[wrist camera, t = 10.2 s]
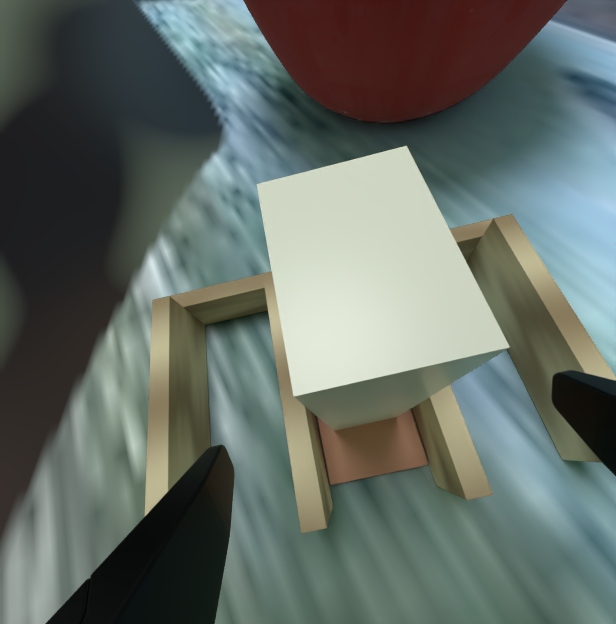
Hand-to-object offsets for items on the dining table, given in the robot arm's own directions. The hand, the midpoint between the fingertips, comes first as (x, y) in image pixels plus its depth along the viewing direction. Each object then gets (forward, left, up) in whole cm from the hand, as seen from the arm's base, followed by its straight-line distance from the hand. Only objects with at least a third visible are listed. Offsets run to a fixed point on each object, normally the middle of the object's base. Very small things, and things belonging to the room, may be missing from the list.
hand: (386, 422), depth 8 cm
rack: (+2, -2, -9) cm, 10 cm away
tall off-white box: (+2, -2, -9) cm, 10 cm away
